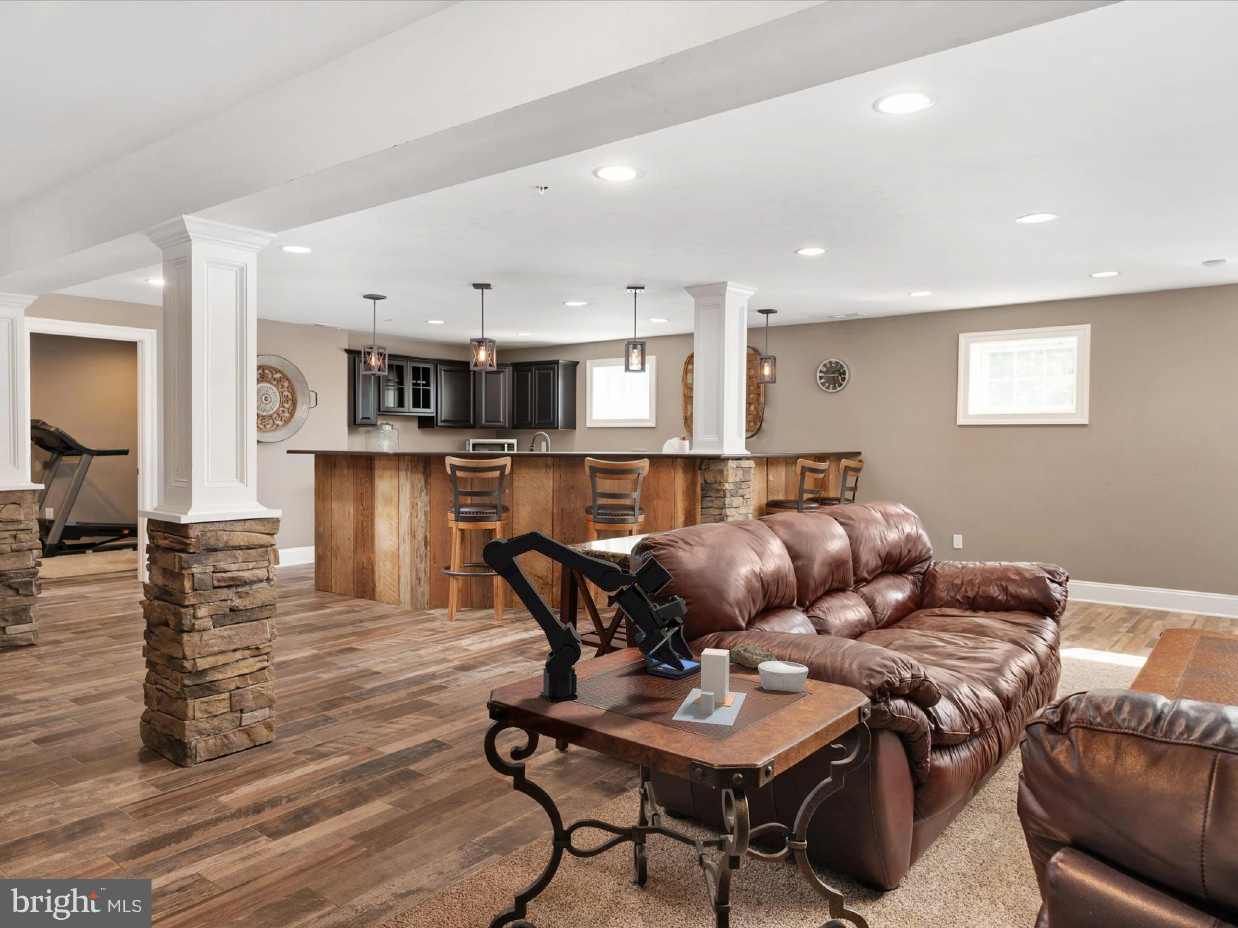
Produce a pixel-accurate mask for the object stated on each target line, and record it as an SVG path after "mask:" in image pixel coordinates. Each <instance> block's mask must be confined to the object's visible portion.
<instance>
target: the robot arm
mask: <svg viewBox="0 0 1238 928" xmlns="http://www.w3.org/2000/svg"><path fill="white" fill-rule="evenodd" d="M531 551H535V552H537V553H539V554H542V555H543V556H545V557H547V558H549V559H552V560H553V561H556V562H558V563H559V564H562V565H563V566H566V567H568V568H570V569H571V570H574V571H576V572H578V573H580V574H581V575H583V576H584V577H585V578H586V579H587V580H588V581H590V582H591V583H592V584H594V585H595V586H596V587H598V588H599V589H600V590H601V591H603V592H606V593H613V592H615V593H614V594H613V595H611V594H607V607H608V609H609V608H613V607H614V606H615V605H618V607H619V608H620V609H621V610H622V611H623V613H624V614H625V615H626V616H627V617H628V618H629V619H630V621H632V622H631V623H630V625H631V626H632V627H633V628H635V627H637V629H638V630H639V631H640V632H642V633H643V634H644V635H645V637H644V638H643V639H644V640H643V641H642V642H641V643H640V644H639V646H638V651H639V652H640V653H641V655H642V657H643V656H644V657H645V656H647V655H648V654H649V653H650V652H651V651H652V653H651V654H650V655H649V656H648V658H652V659H655V660H657V661H659V662H662V663H664V664H666V665H668V666H671V667H673V668H675V669H677V670H679V671H683V670H684V669H685V667H684V665H683V664H682V662H681V660H680V659H679V657H678V656H677V655H676V653H678V654H679V655H681V656H683V657H684V658H686V659H688V660H689V661H691V660H692V659H694V655H693V653H692V651H691V650H690V647H689V645H688V643H687V642H686V640H685V637H684V635H683V631H684V630H683V629H684V624H682V623H683V622H684V620H683V619H682V618H681V617H682V616H684V615H686V613H688V609H687V606H686V600H684V599H683V597H681V598H680V597H679V596H678V595H672V596H670V597H669V598H668V603H666V604H663V605H661V606H659V604H658V603H655V602H654V603H652V602H651V601H650V600H649V599H648V598H647V596H649V595H651V596H652V595H654V596H656V595H657V594H658V593H659V592H661V590H663V588H664V587H666V586H667V585H668V584H669V583H670V582H671V581H673V579H674V577H673V575H672V574H671V573H670V572H669V571H668V569H667V568H665V567H664V565H663V564H661V563H660V562H659V561H658V560H657V559H655V557H654V556H653V555H651V556H649V558H647V560H646V561H645V563H643V564H642V565H641V566H640V567H639V568H638V569H637V570H636V571H635V570H631V569H624V568H621V567H620V566H619V565H618V564H617V563H614V562H612V561H608V560H604V559H602V558H596V557H592V556H589V555H586V554H583V553H582V552H580V551H578V550H576V549H574V548H572V547H570V546H568V545H566V544H564V543H562V542H560V541H558V540H556V539H554V538H551V537H549V536H548V535H545V534H543V532H541V531H540V530H537V529H534V530H530V531H529V532H527V533H523V534H520V535H519V534H518V535H517V536H514V537H510V538H507V539H506V538H502V537H496V538H494V539H492V540H490V541H489V542H488V543H487V544H486V545H485V546H484V547H483V549H482V559H483V561H484V562H485V564H486V565H487V566H488V567H490V569H491V570H492V571H494V572H495V574H496V575H498V576H500V577H501V578H502V579H503V580H505V581H506V583H508V585H509V586H510V587H511V589H512V590H513V591H514V593H515V594H516V595H517V596H518V598H519V600H520V601H521V602H522V604H523V605H524V607H525V608H526V609H527V611H528V612H529V613H530V615H531V616H532V618H534V620H535V621H536V623H537V625H538V626H539V627H540V628H541V630H542V631H543V633H544V634H545V637H546V640H547V642H548V644H549V647H550V649H551V651H550V652H548V654H547V656H546V658H545V659H546V660H545V664H544V667H545V668H543V682H542V683H543V688H542V689H543V691H539V692H540V693H539V694H540V696H542V697H544V698H545V699H546V700H548V701H550V702H552V703H553V702H554V703H555V702H560V701H568V700H573V699H578V698H579V695H578V694H577V692H578V686H577V685H578V681H577V680H578V676H577V674H576V668H575V667H573V665H574V664H575V665H576V663H577V662H578V661H579V660H580V659H581V657H582V656H581V655H582V647H583V643H582V640H581V638H582V634H581V633H579V632H577V631H576V629H575V628H574V625H573V623H572V621H569V622H568V623H566V624H565V623H563V622H562V621H561V620H560V619H558V617H557V616H556V614H555V613H554V611H553V610H552V609H551V607H550V606H549V605H548V603H547V602H546V600H545V599H544V598H543V597H542V595H541V594H540V592H539V591H538V590H537V588H536V587H535V585H534V584H533V583H532V582H531V580H530V579H529V577H528V576H527V574H525V571H523V569H522V567H521V564H520V561H519V559H518V557H519V556H521V555H522V554H525V553H528V552H531ZM636 585H638V586H639V588H640V589H641V590H642V591H643V592H644V593H645V594H646V595H647V596H645V595H644V594H643V592H642V591H641V590H640V589H639V588H638V586H636ZM627 586H628V587H627ZM626 587H627V588H626ZM674 651H675V652H676V653H675V652H674ZM644 657H643V658H644Z"/></svg>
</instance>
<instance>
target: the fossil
mask: <svg viewBox="0 0 1238 928" xmlns="http://www.w3.org/2000/svg"><path fill="white" fill-rule="evenodd" d="M730 652H731V653H730V656H731V658H733V659H734V660H735V661H736V662H737V663H739V665H742V666H743V667H745V668H747V669H758V665H759V664H760V663H763V662H767V661H778V659H777V657H776V656H774V655H773V653H770V652H769V651H768V650H766V649H765V648H764V647H760V646H759V645H755V644H754V643H749V642H746V643H743V642H742V643H739V644H736V645H735V646H734V647H732V648H731V649H730Z"/></svg>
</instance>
